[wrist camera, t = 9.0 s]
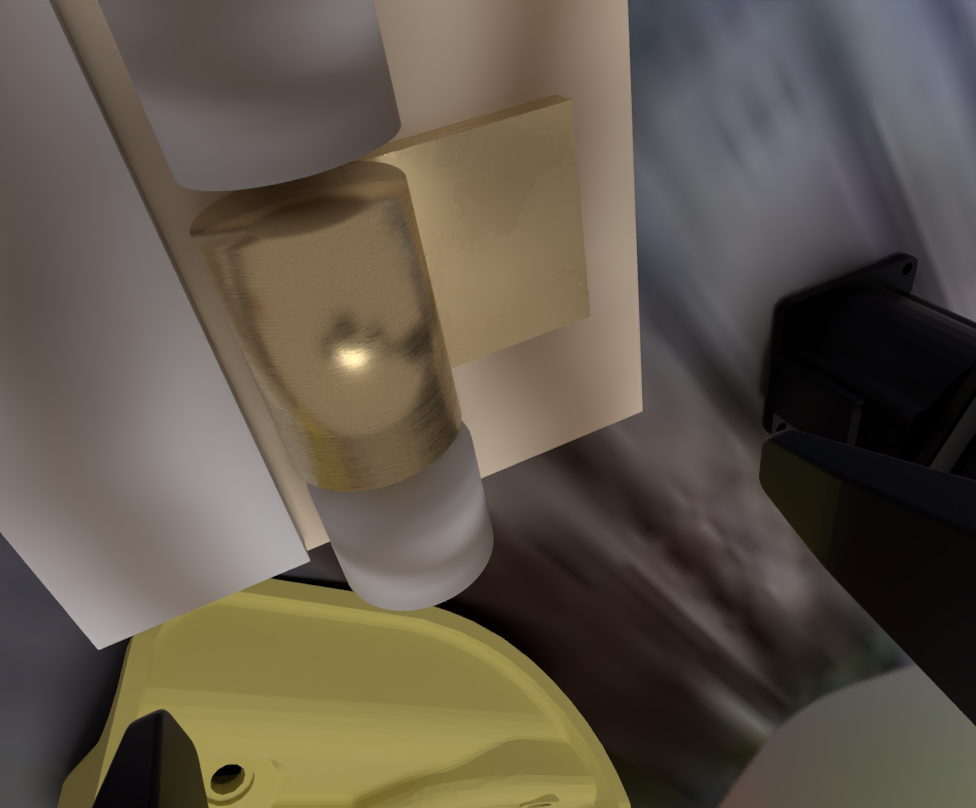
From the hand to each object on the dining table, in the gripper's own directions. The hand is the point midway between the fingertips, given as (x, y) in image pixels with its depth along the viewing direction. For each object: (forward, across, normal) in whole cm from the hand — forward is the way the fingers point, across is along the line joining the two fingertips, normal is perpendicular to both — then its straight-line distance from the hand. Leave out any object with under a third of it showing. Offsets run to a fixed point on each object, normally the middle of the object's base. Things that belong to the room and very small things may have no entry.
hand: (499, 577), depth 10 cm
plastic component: (+12, +5, +18) cm, 23 cm away
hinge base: (+12, 0, 0) cm, 12 cm away
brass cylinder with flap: (+10, -2, 0) cm, 11 cm away
